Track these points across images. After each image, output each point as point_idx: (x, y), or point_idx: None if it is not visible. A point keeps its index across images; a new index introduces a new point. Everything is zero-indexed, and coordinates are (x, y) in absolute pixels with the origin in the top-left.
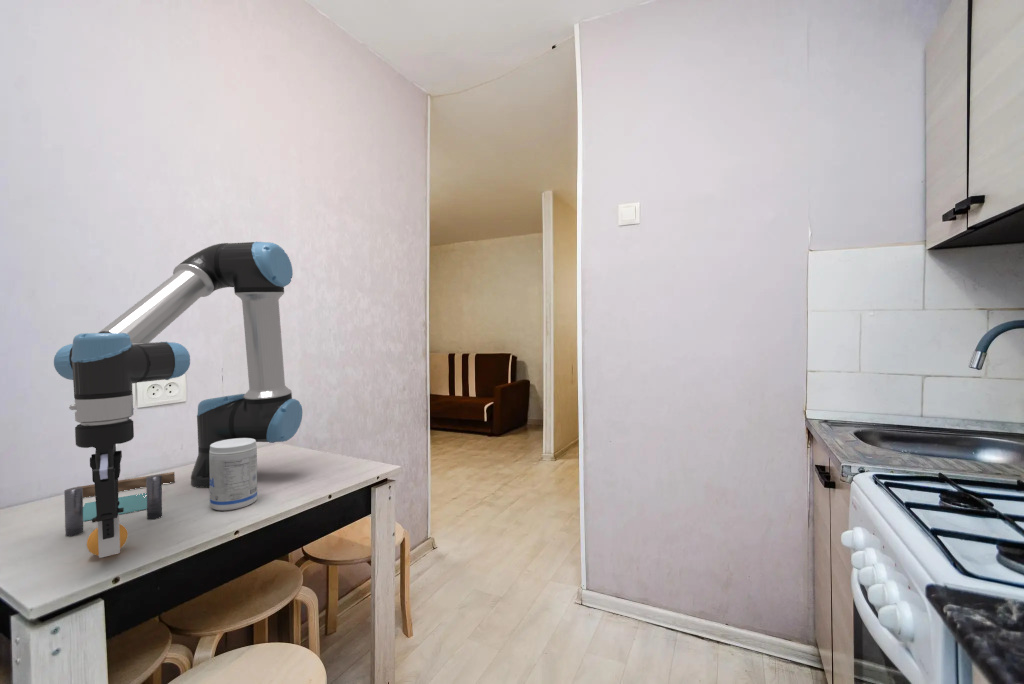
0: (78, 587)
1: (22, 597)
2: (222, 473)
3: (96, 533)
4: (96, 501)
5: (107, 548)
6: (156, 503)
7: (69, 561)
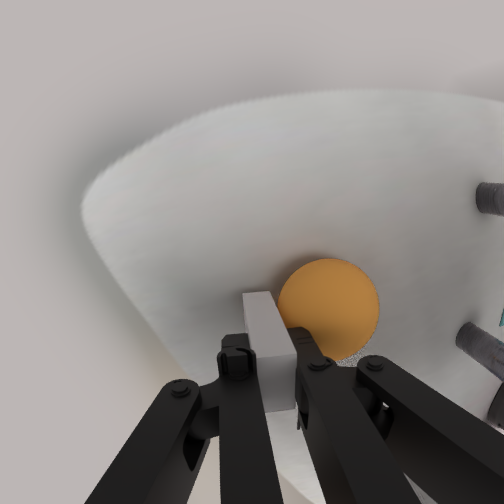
0: (119, 263)
1: (137, 153)
2: (423, 497)
3: (314, 303)
4: (112, 465)
5: (245, 322)
6: (477, 357)
7: (327, 208)
